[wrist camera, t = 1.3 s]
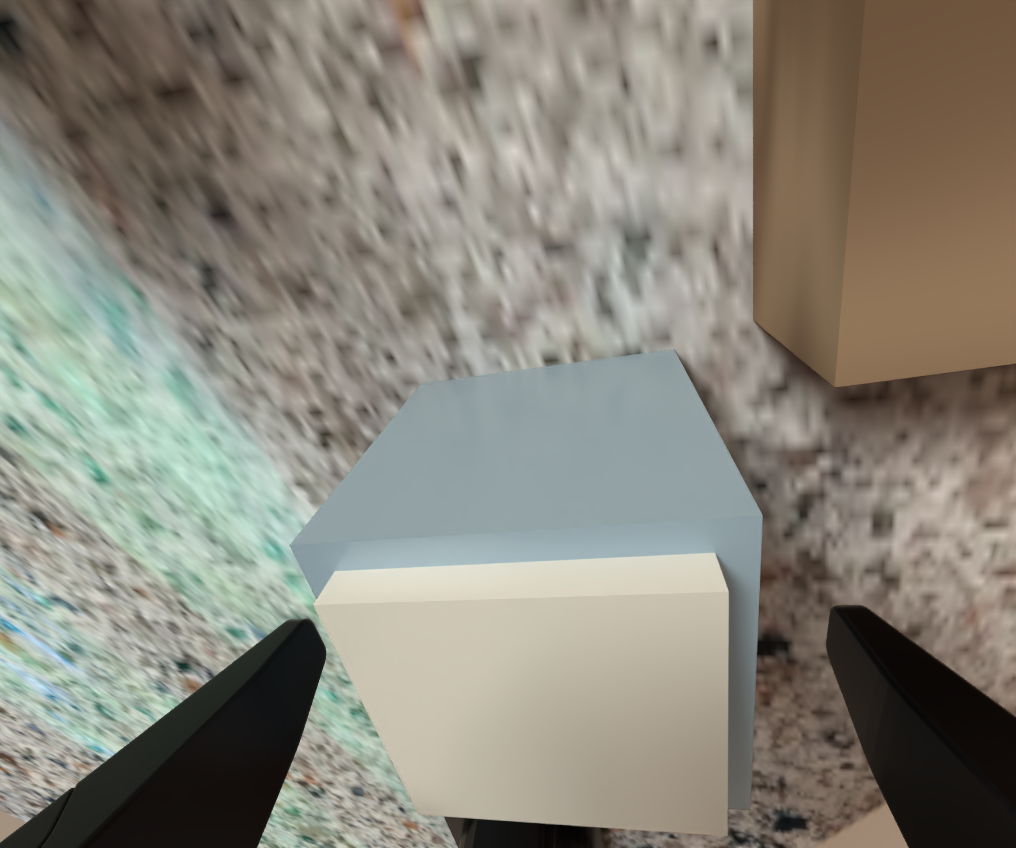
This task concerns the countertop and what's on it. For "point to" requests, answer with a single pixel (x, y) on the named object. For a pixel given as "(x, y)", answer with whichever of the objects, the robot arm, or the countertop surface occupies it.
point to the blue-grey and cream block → (551, 598)
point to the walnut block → (885, 184)
